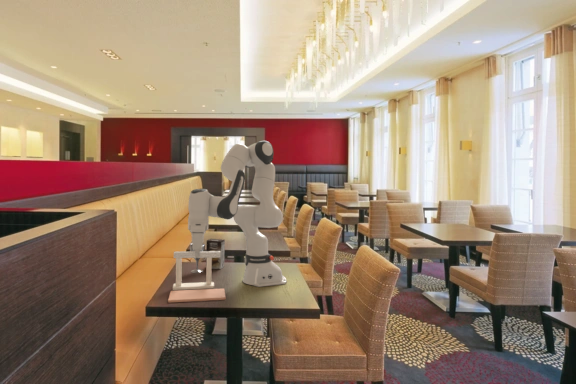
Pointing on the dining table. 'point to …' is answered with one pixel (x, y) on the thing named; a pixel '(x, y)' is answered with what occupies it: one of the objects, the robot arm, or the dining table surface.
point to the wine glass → (197, 259)
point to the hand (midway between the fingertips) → (197, 256)
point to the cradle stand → (200, 285)
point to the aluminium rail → (202, 254)
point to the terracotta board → (197, 295)
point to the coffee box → (216, 246)
